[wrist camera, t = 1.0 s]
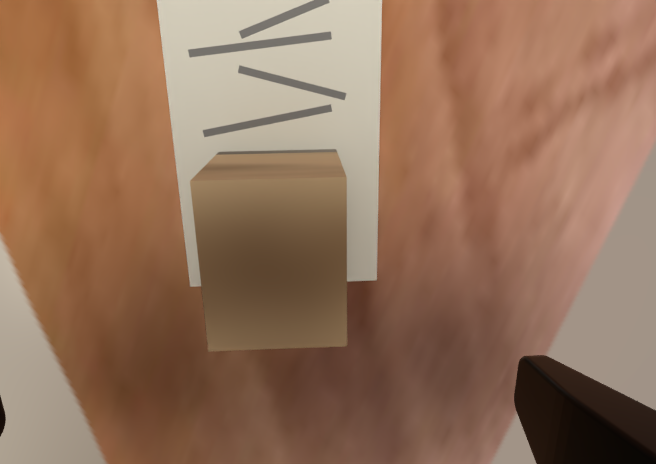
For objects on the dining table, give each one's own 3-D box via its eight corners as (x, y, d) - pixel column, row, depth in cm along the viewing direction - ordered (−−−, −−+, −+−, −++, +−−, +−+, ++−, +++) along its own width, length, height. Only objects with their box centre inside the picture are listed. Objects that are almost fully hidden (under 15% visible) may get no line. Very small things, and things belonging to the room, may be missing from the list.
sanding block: (337, 281, 18) (347, 346, 14) (230, 285, 18) (208, 351, 14) (336, 149, 17) (346, 176, 13) (219, 151, 17) (190, 180, 12)
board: (373, 269, 19) (376, 280, 19) (195, 275, 19) (190, 286, 18) (377, -8, 16) (382, -13, 15) (164, -6, 16) (155, -10, 15)
